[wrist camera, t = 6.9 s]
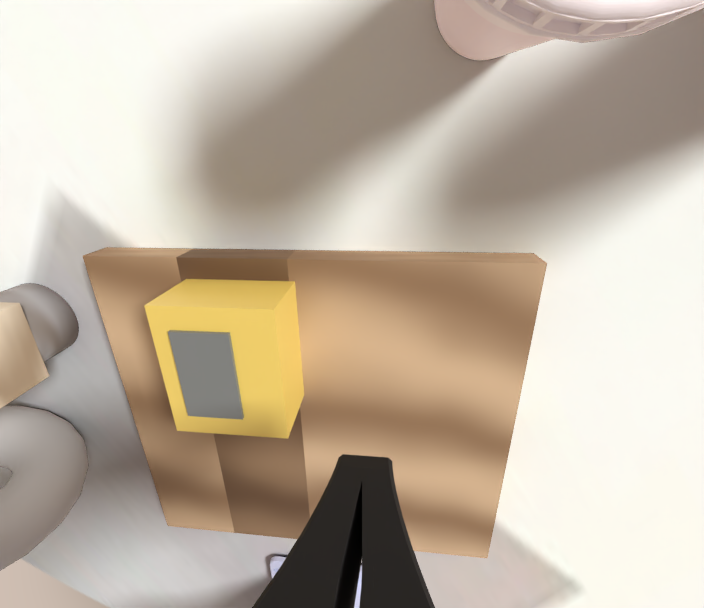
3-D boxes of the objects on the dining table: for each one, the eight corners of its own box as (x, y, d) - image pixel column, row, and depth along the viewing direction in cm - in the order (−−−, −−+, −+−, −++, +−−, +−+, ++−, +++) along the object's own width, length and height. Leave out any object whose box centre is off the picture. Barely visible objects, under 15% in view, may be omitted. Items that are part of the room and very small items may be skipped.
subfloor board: (481, 533, 23) (487, 558, 21) (180, 504, 25) (167, 525, 24) (533, 253, 16) (547, 263, 14) (106, 247, 18) (82, 255, 17)
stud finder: (304, 394, 18) (287, 441, 15) (209, 389, 19) (175, 433, 16) (294, 281, 16) (272, 311, 13) (186, 278, 16) (141, 307, 14)
